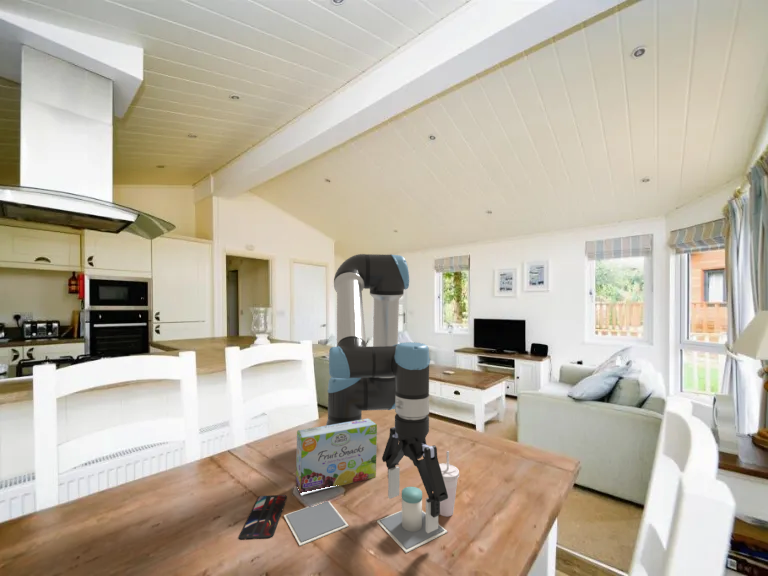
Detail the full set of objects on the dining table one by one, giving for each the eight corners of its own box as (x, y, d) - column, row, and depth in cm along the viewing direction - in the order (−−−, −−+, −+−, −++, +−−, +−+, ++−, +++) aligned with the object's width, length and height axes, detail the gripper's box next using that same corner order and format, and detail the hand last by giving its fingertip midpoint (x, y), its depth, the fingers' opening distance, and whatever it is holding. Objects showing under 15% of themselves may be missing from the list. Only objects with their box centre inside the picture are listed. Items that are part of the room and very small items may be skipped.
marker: (397, 522, 75) (397, 490, 75) (413, 515, 78) (413, 484, 78) (410, 534, 71) (410, 501, 72) (426, 526, 74) (426, 494, 74)
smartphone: (237, 538, 70) (258, 495, 85) (237, 542, 70) (258, 498, 85) (272, 537, 71) (287, 494, 86) (272, 540, 71) (287, 497, 86)
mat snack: (283, 516, 78) (283, 514, 78) (328, 500, 84) (328, 499, 84) (299, 546, 69) (299, 544, 69) (348, 526, 75) (348, 524, 75)
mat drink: (376, 521, 76) (376, 519, 76) (415, 505, 82) (415, 503, 82) (406, 553, 67) (406, 551, 67) (447, 532, 73) (447, 530, 73)
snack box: (300, 498, 85) (301, 437, 85) (295, 487, 90) (296, 429, 90) (377, 477, 95) (377, 423, 95) (368, 468, 100) (368, 416, 100)
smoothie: (459, 522, 76) (459, 459, 76) (430, 518, 77) (430, 456, 78) (459, 504, 82) (459, 446, 83) (432, 501, 84) (432, 444, 84)
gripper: (368, 401, 83) (367, 489, 83) (437, 438, 62) (436, 555, 62) (393, 397, 87) (393, 480, 87) (466, 429, 67) (466, 539, 66)
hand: (411, 511), depth 75 cm, fingers open, 13 cm apart
